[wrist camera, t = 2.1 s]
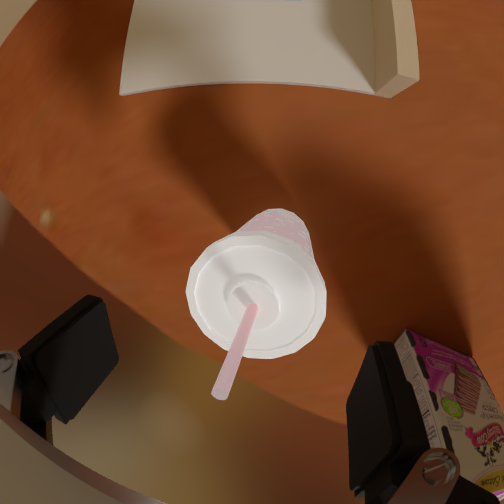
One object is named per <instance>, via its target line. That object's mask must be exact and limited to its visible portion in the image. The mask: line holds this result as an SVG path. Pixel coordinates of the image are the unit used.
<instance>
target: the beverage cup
mask: <svg viewBox="0 0 504 504" xmlns="http://www.w3.org/2000/svg"><path fill="white" fill-rule="evenodd" d="M186 295H187V300H188V304H189V308H190V313H191V315H192V317H193V318H194V320H195V321H196V323H197V324H198V326H199V327H200V329H201V330H202V332H203V333H204V334H205V335H206V336H207V337H209V338H210V339H211V340H212V341H214V342H215V343H216V344H218V345H219V346H220V347H222V348H223V349H225V350H227V351H229V352H228V354H227V356H226V359H225V361H224V364H223V366H222V368H221V371H220V373H219V375H218V378H217V380H216V383H215V385H214V387H213V390H212V395H213V397H215V398H217V399H219V400H225V399H227V397H228V395H229V392H230V389H231V386H232V383H233V381H234V378H235V375H236V372H237V369H238V366H239V364H240V361H241V358H242V356H244V357H247V358H262V359H273V358H277V357H281V356H284V355H288V354H291V353H294V352H296V351H298V350H299V349H300V348H302V347H303V346H304V345H306V344H307V343H308V342H310V341H311V340H312V339H314V338H315V336H316V334H317V332H318V330H319V328H320V327H321V325H322V323H323V321H324V319H325V317H326V287H325V282H324V280H323V278H322V276H321V273H320V271H319V269H318V267H317V265H316V263H315V260H314V255H313V250H312V245H311V241H310V236H309V232H308V230H307V228H306V226H305V224H304V222H303V221H302V220H301V219H300V218H299V217H298V216H297V215H295V214H294V213H293V212H290V211H287V210H284V209H268V210H266V211H264V212H261V213H259V214H257V215H256V216H255V217H253V218H252V219H251V220H250V221H248V222H247V223H246V224H245V225H243V226H242V227H241V228H240V229H238V230H237V231H236V232H234V233H232V234H230V235H228V236H226V237H224V238H222V239H220V240H218V241H216V242H214V243H212V245H210V246H208V247H207V248H206V249H205V251H204V252H203V253H202V254H201V256H200V257H199V258H198V259H197V261H196V262H195V263H194V264H193V266H192V267H191V268H190V273H189V278H188V282H187V287H186Z"/></svg>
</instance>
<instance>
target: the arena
mask: <svg viewBox="0 0 504 504" xmlns="http://www.w3.org/2000/svg"><path fill="white" fill-rule="evenodd" d="M417 81H419V62H418V49H417V39H416V30H415V23H414V16H413V10H412V4H411V0H134V4H133V9H132V13H131V18H130V23H129V28H128V33H127V38H126V44H125V51H124V57H123V65H122V73H121V82H120V92H119V95H122V96H125V95H130V94H135V93H141V92H147V91H153V90H160V89H168V88H176V87H185V86H196V85H211V84H234V83H266V84H290V85H304V86H315V87H324V88H332V89H340V90H347V91H353V92H359V93H365V94H370V95H375V96H380V97H385V98H391V97H393V96H394V95H396V94H398V93H399V92H401V91H403V90H404V89H406V88H407V87H409V86H411V85H412V84H414V83H416V82H417Z"/></svg>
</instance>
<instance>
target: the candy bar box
mask: <svg viewBox="0 0 504 504" xmlns="http://www.w3.org/2000/svg"><path fill="white" fill-rule="evenodd" d="M394 345H395V348H396V351H397V353H398V356H399V359H400V362H401V365H402V368H403V370H404V373H405V376H406V379H407V381H409V382H410V383H411V384H412V386H413V389H414V392H415V395H416V398H417V401H418V404H419V408H420V411H421V414H422V418H423V421H424V425H425V428H426V432H427V436H428V440H429V443H430V448H431V449H432V448H445V449H448V450H450V451H451V452H453V453H454V454H455V455H456V457H457V458H458V460H459V463H460V474H459V475H460V476H462V477H464V478H465V479H467V480H469V481H471V482H473V483H474V484H476V485H478V486H480V487H482V488H484V489H485V490H487V491H489V492H491V493H493V494H494V495H496V496H497V498H498V499H499V501H500V500H502V499H503V498H504V415H503V413H502V411H501V409H500V407H499V404H498V402H497V400H496V399H495V397H494V395H493V393H492V391H491V389H490V387H489V385H488V383H487V381H486V379H485V378H484V376H483V374H482V372H481V370H480V368H479V367H478V365H477V363H476V361H475V359H474V358H472V357H470V356H467V355H465V354H463V353H461V352H458V351H456V350H453V349H451V348H449V347H447V346H444V345H442V344H440V343H438V342H435V341H433V340H431V339H428V338H426V337H424V336H422V335H419V334H417V333H415V332H413V331H411V330H408V329H405V330H404V331H403V332H402V333H401V335H400V336H399V337H398V338H397V340H396V341H395V343H394Z"/></svg>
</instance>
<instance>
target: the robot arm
mask: <svg viewBox="0 0 504 504" xmlns="http://www.w3.org/2000/svg"><path fill="white" fill-rule="evenodd" d="M18 352H19V354H20V356H21V359H20V360H19V359H18V357H17V355H16V354H15V353H14V352H12V351H2V352H0V504H167V503H164V502H161V501H158V500H156V499H153V498H150V497H148V496H145V495H143V494H140V493H138V492H136V491H133V490H131V489H129V488H127V487H125V486H122V485H120V484H118V483H116V482H114V481H112V480H110V479H108V478H106V477H104V476H102V475H100V474H98V473H97V472H95V471H93V470H91V469H89V468H88V467H85V466H84V465H82V464H81V463H79V462H77V461H76V460H74V459H72V458H71V457H69V456H68V455H66V454H65V453H63V452H62V451H60V450H59V449H57V448H56V447H54V446H53V434H52V418H51V417H52V416H53V415H54V416H55V417H56V419H58V420H59V421H61V422H63V423H64V424H67V423H68V421H69V420H72V419H73V418H74V417H75V416H76V415H77V414H78V412H79V411H80V410H81V408H82V407H83V406H84V405H85V403H86V402H87V401H88V400H89V398H90V397H91V396H92V395H93V393H94V392H95V391H96V390H97V388H98V387H99V386H100V385H101V383H102V382H103V381H104V379H105V378H106V377H107V376H108V375H109V373H110V372H111V371H112V370H113V369H114V367H115V366H116V365H117V363H118V360H119V356H118V352H117V349H116V345H115V342H114V338H113V335H112V330H111V327H110V323H109V318H108V314H107V309H106V305H105V303H103V300H102V299H101V298H99V297H96V296H92V295H86V296H85V297H83V298H82V299H81V300H79V301H78V302H77V303H76V304H74V305H73V306H72V307H71V308H69V309H68V310H67V311H65V312H64V313H63V314H61V315H60V316H59V317H58V318H56V319H55V320H54V321H53V322H52V323H50V324H49V325H48V326H46V327H45V328H44V329H43V330H42V331H40V332H39V333H38V334H37V335H35V336H34V337H33V338H32V339H31V340H30V341H28V342H27V343H26V344H25V345H24V346H22V347H21V348H20V349H19V350H18ZM346 414H347V428H348V446H349V486H350V490H355V497H365V504H500V502H499V499H498V498H497V496H496V495H494V494H493V493H491V492H489V491H487V490H485V489H484V488H482V487H480V486H478V485H476V484H474V483H473V482H471V481H469V480H467V479H465V478H464V477H462V476H460V475H459V474H460V463H459V460H458V458H457V457H456V455H455V454H454V453H453V452H451V451H450V450H448V449H445V448H432V449H431V448H430V443H429V440H428V436H427V432H426V428H425V425H424V421H423V418H422V414H421V411H420V408H419V404H418V401H417V398H416V395H415V392H414V389H413V386H412V384H411V383H410V382H409V381H407V379H406V376H405V373H404V370H403V368H402V365H401V362H400V359H399V356H398V353H397V351H396V348H395V345H394V343H393V342H379V341H377V342H375V343H374V346H369V347H368V350H367V352H366V355H365V358H364V360H363V363H362V366H361V368H360V371H359V373H358V376H357V378H356V381H355V383H354V385H353V388H352V390H351V392H350V395H349V397H348V399H347V404H346Z"/></svg>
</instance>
